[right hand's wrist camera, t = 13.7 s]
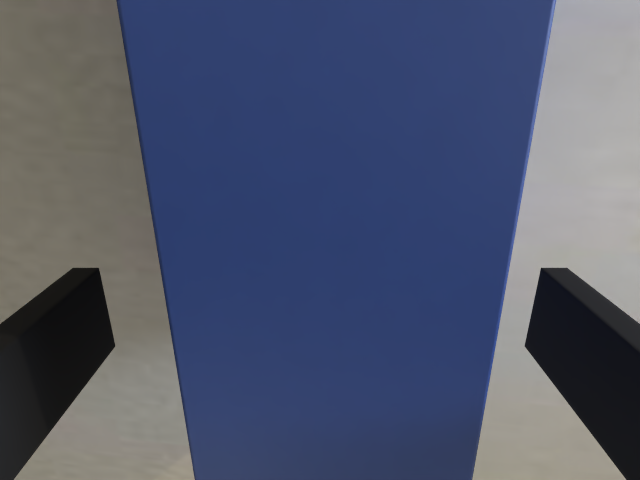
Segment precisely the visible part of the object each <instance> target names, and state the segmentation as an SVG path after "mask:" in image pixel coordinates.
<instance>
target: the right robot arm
mask: <svg viewBox="0 0 640 480" xmlns="http://www.w3.org/2000/svg"><path fill="white" fill-rule="evenodd" d="M114 347H115V342H114V338H113V333H112V328H111V323H110V319H109V314H108V309H107V304H106V300H105V295H104V290H103V285H102V281H101V276H100V271H99V268H72V269H71V270H70V271H68V272H67V273H66V274H65V275H63V276H62V277H61V278H59V279H58V280H57V281H55V282H54V283H53V284H52V285H50V286H49V287H48V288H46V289H45V290H44V291H43V292H41V293H40V294H39V295H37V296H36V297H35V298H33V299H32V300H31V301H30V302H28V303H27V304H26V305H24V306H23V307H22V308H20V309H19V310H18V311H17V312H15V313H14V314H13V315H11V316H10V317H9V318H8V319H6V320H5V321H4V322H2V323H1V324H0V480H14V478H15V477H16V476H17V474H18V473H19V472H20V470H21V469H22V468H23V467H24V465H25V464H26V463H27V461H28V460H29V459H30V457H31V456H32V455H33V453H34V452H35V451H36V449H37V448H38V447H39V446H40V444H41V443H42V442H43V440H44V439H45V438H46V436H47V435H48V434H49V432H50V431H51V430H52V428H53V427H54V426H55V425H56V423H57V422H58V421H59V419H60V418H61V417H62V415H63V414H64V413H65V411H66V410H67V409H68V407H69V406H70V405H71V404H72V402H73V401H74V400H75V398H76V397H77V396H78V394H79V393H80V392H81V390H82V389H83V388H84V386H85V385H86V384H87V383H88V381H89V380H90V379H91V377H92V376H93V375H94V373H95V372H96V371H97V369H98V368H99V367H100V365H101V364H102V363H103V362H104V360H105V359H106V358H107V356H108V355H109V354H110V352H111V351H112V350H113V348H114ZM525 347H526V348H527V350H528V351H529V352H530V354H531V355H532V356H533V358H534V359H535V360H536V362H537V363H538V364H539V365H540V367H541V368H542V369H543V371H544V372H545V373H546V375H547V376H548V377H549V379H550V380H551V381H552V383H553V384H554V385H555V386H556V388H557V389H558V390H559V392H560V393H561V394H562V396H563V397H564V398H565V400H566V401H567V402H568V404H569V405H570V406H571V407H572V409H573V410H574V411H575V413H576V414H577V415H578V417H579V418H580V419H581V421H582V422H583V423H584V425H585V426H586V427H587V428H588V430H589V431H590V432H591V434H592V435H593V436H594V438H595V439H596V440H597V442H598V443H599V444H600V446H601V447H602V448H603V449H604V451H605V452H606V453H607V455H608V456H609V457H610V459H611V460H612V461H613V463H614V464H615V465H616V467H617V468H618V469H619V470H620V472H621V473H622V474H623V476H624V477H625V478H626V480H640V324H639V323H638V322H636V321H635V320H634V319H632V318H631V317H630V316H629V315H627V314H626V313H625V312H623V311H622V310H621V309H620V308H618V307H617V306H616V305H614V304H613V303H612V302H610V301H609V300H608V299H607V298H605V297H604V296H603V295H601V294H600V293H599V292H597V291H596V290H595V289H594V288H592V287H591V286H590V285H588V284H587V283H586V282H585V281H583V280H582V279H581V278H579V277H578V276H577V275H575V274H574V273H573V272H572V271H570V270H569V269H568V268H541V271H540V276H539V281H538V285H537V290H536V295H535V300H534V304H533V309H532V314H531V319H530V323H529V328H528V333H527V338H526V342H525Z"/></svg>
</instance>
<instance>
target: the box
mask: <svg viewBox="0 0 640 480" xmlns="http://www.w3.org/2000/svg"><path fill="white" fill-rule="evenodd" d="M555 3H556V0H117V6H118V12H119V18H120V25H121V31H122V37H123V43H124V49H125V55H126V61H127V67H128V73H129V80H130V86H131V92H132V98H133V104H134V110H135V116H136V122H137V128H138V135H139V141H140V147H141V153H142V159H143V165H144V171H145V177H146V183H147V190H148V196H149V202H150V208H151V214H152V220H153V226H154V232H155V238H156V245H157V251H158V257H159V263H160V269H161V275H162V281H163V287H164V293H165V300H166V306H167V312H168V318H169V324H170V330H171V336H172V342H173V348H174V355H175V361H176V367H177V373H178V379H179V385H180V391H181V397H182V403H183V409H184V416H185V422H186V428H187V434H188V440H189V446H190V452H191V458H192V464H193V471H194V477H195V480H472V477H473V471H474V466H475V460H476V454H477V449H478V443H479V437H480V431H481V426H482V420H483V414H484V409H485V403H486V397H487V391H488V386H489V380H490V374H491V369H492V363H493V357H494V352H495V346H496V340H497V334H498V329H499V323H500V317H501V312H502V306H503V300H504V294H505V289H506V283H507V277H508V272H509V266H510V260H511V254H512V249H513V243H514V237H515V232H516V226H517V220H518V215H519V209H520V203H521V197H522V192H523V186H524V180H525V175H526V169H527V163H528V157H529V152H530V146H531V140H532V135H533V129H534V123H535V117H536V112H537V106H538V100H539V95H540V89H541V83H542V78H543V72H544V66H545V60H546V55H547V49H548V43H549V38H550V32H551V26H552V20H553V15H554V9H555Z"/></svg>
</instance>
